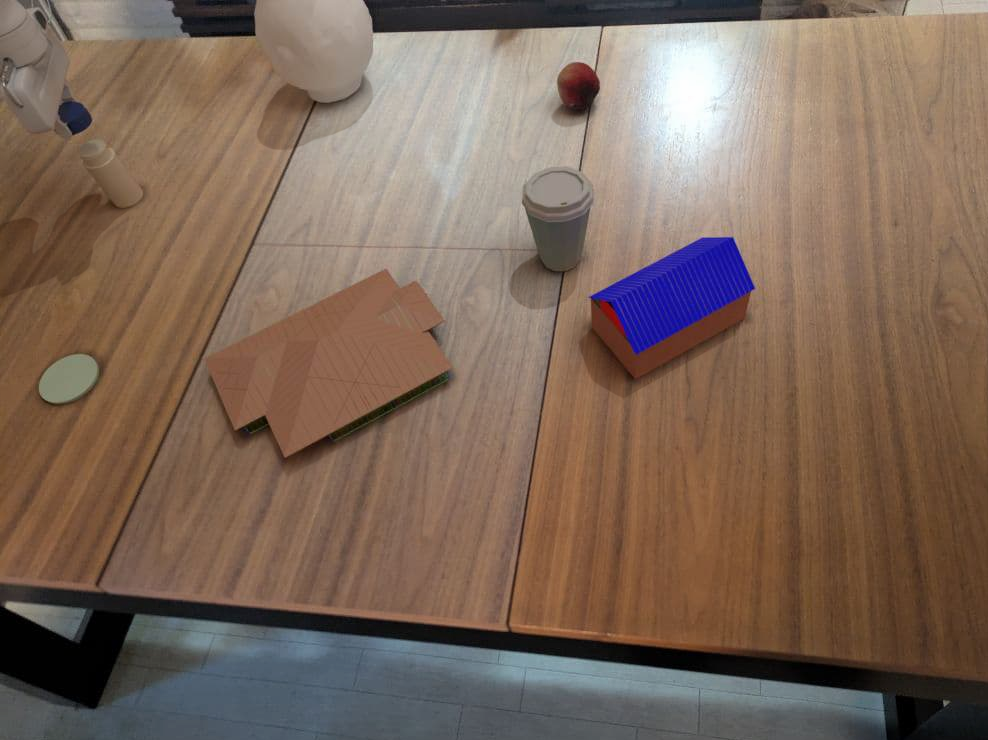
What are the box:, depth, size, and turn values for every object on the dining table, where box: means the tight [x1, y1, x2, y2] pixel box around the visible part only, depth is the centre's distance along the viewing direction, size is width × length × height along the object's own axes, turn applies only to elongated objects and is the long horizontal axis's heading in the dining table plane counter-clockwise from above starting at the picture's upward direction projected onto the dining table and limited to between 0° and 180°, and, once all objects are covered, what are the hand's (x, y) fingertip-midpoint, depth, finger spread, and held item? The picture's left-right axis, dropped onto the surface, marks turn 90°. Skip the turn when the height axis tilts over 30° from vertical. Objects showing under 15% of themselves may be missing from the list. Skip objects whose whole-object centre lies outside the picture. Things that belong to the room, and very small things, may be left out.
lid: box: [53, 101, 93, 136], centre depth 117 cm, size 6×6×2 cm
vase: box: [253, 0, 374, 104], centre depth 130 cm, size 19×21×30 cm
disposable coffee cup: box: [521, 166, 595, 272], centre depth 107 cm, size 11×11×15 cm
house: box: [587, 236, 756, 380], centre depth 100 cm, size 12×20×12 cm, turn 121°
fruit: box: [556, 61, 601, 111], centre depth 129 cm, size 8×8×8 cm
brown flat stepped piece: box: [204, 268, 454, 459], centre depth 102 cm, size 23×33×8 cm
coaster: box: [38, 353, 100, 405], centre depth 109 cm, size 9×9×1 cm
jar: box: [77, 138, 144, 209], centre depth 126 cm, size 6×6×11 cm
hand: (71, 121), depth 117 cm, fingers closed on lid, 6 cm apart
